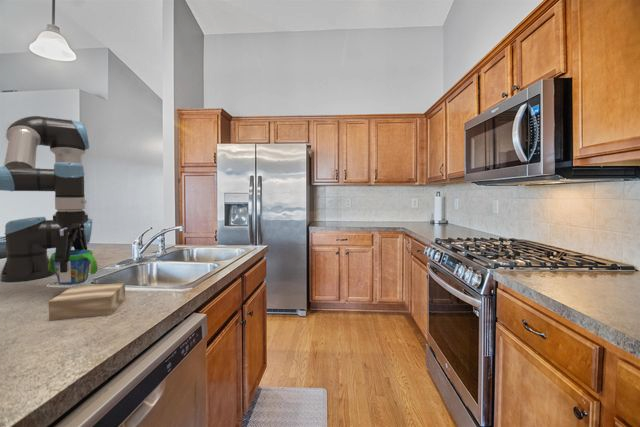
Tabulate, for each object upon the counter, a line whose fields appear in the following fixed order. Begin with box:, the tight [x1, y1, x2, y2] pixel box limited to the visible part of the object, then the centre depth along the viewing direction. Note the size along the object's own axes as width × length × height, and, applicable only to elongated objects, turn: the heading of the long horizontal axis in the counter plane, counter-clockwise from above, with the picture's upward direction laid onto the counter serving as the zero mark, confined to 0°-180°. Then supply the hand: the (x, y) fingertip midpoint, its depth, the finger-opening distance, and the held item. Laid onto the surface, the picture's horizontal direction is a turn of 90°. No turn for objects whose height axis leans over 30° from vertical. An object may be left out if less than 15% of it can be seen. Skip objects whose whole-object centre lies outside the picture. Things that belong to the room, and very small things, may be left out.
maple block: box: [48, 282, 126, 321], centre depth 90 cm, size 14×14×5 cm
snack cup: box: [48, 249, 98, 286], centre depth 102 cm, size 16×10×10 cm
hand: (73, 277), depth 102 cm, fingers closed on snack cup, 10 cm apart
